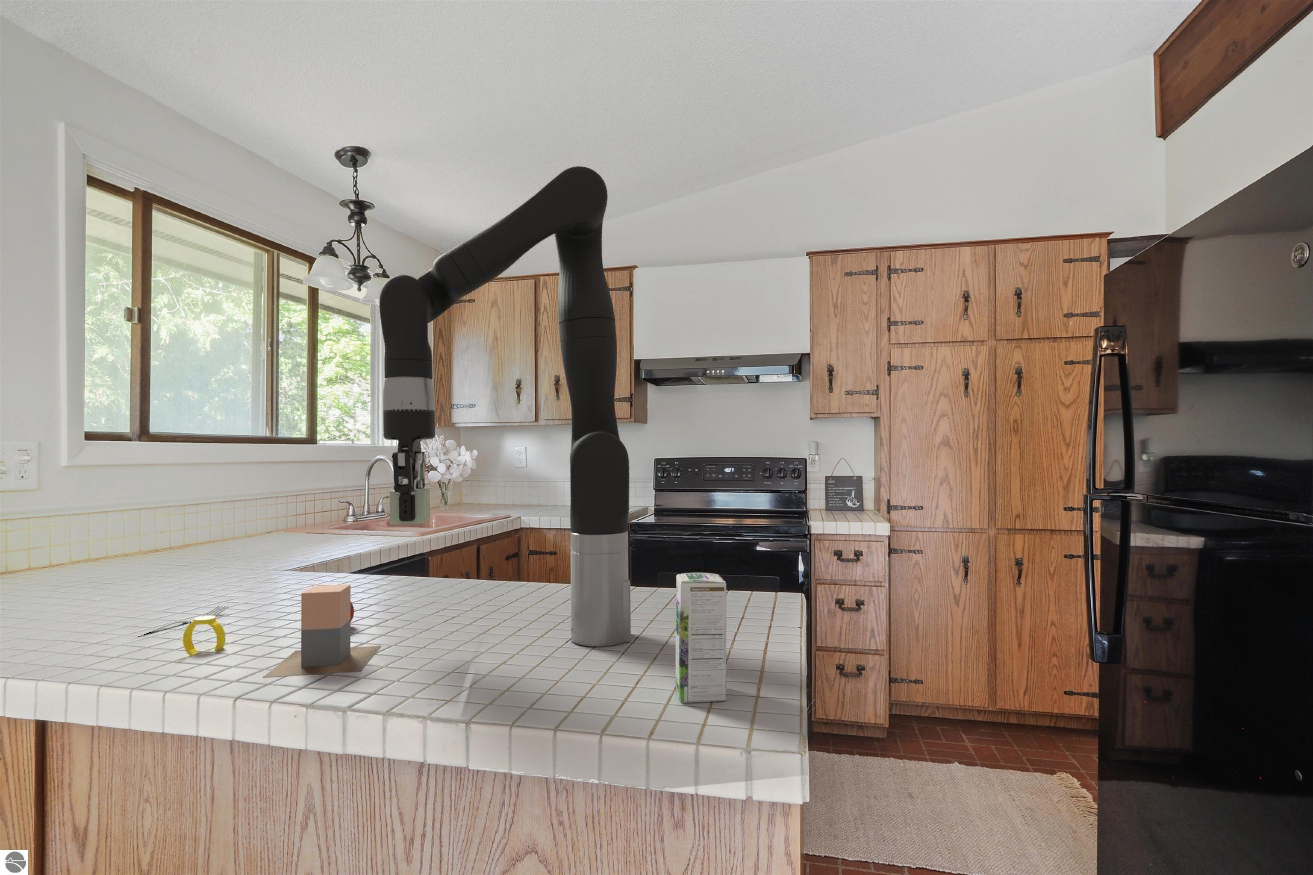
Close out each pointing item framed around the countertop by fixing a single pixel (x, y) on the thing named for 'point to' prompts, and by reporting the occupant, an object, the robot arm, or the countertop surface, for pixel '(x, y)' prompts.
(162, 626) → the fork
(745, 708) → the countertop surface
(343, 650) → the charcoal brick
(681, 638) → the syrup box
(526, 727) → the countertop surface
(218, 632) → the watch
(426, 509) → the sage brick
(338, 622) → the terracotta brick
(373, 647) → the walnut board
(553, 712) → the countertop surface
